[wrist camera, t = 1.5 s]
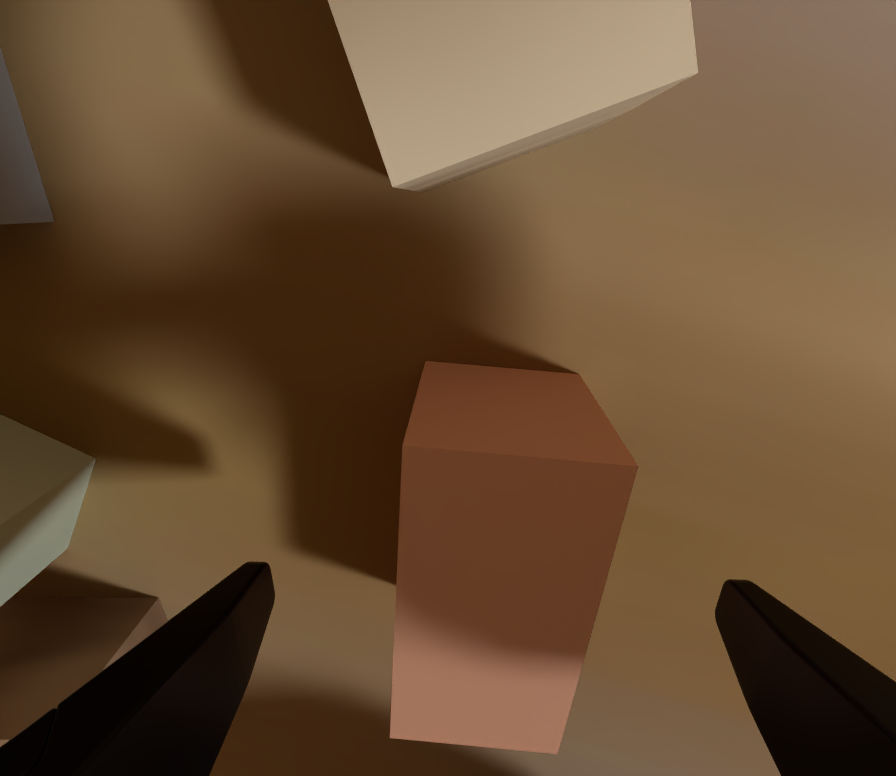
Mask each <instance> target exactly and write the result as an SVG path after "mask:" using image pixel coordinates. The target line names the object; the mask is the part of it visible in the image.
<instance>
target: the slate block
mask: <svg viewBox="0 0 896 776" xmlns="http://www.w3.org/2000/svg"><path fill="white" fill-rule="evenodd" d="M41 222H54V219H53V216H52V212H51V209H50V206H49V203H48V199H47V196H46V193H45V190H44V187H43V183H42V180H41V177H40V174H39V170H38V167H37V164H36V161H35V157H34V154H33V151H32V148H31V145H30V141H29V138H28V135H27V132H26V128H25V125H24V122H23V119H22V115H21V112H20V109H19V106H18V103H17V99H16V96H15V93H14V90H13V86H12V83H11V80H10V77H9V74H8V70H7V67H6V64H5V61H4V57H3V54H2V51H1V48H0V225H1V224H21V223H41Z"/></svg>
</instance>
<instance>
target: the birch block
mask: <svg viewBox="0 0 896 776" xmlns="http://www.w3.org/2000/svg"><path fill="white" fill-rule="evenodd" d="M328 3H329V6H330V8H331V11H332V14H333V17H334V20H335V23H336V26H337V29H338V32H339V34H340V37H341V40H342V43H343V46H344V49H345V52H346V55H347V57H348V60H349V63H350V66H351V69H352V72H353V75H354V78H355V81H356V83H357V86H358V89H359V92H360V95H361V98H362V101H363V104H364V106H365V109H366V112H367V115H368V118H369V121H370V124H371V127H372V130H373V132H374V135H375V138H376V141H377V144H378V147H379V150H380V153H381V156H382V158H383V161H384V164H385V167H386V170H387V173H388V176H389V179H390V181H391V184H392V187H394V188H400V189H406V190H411V191H417V192H425V191H427V190H430V189H433V188H435V187H438V186H441V185H444V184H446V183H449V182H452V181H454V180H457V179H460V178H463V177H465V176H468V175H471V174H473V173H476V172H479V171H482V170H484V169H487V168H490V167H492V166H495V165H498V164H501V163H503V162H506V161H509V160H511V159H514V158H517V157H520V156H522V155H525V154H528V153H530V152H533V151H536V150H539V149H541V148H544V147H547V146H549V145H552V144H555V143H558V142H560V141H563V140H566V139H569V138H571V137H574V136H577V135H579V134H582V133H585V132H588V131H590V130H593V129H596V128H598V127H601V126H602V125H604V124H606V123H608V122H610V121H611V120H613V119H615V118H617V117H619V116H621V115H622V114H624V113H626V112H628V111H630V110H631V109H633V108H635V107H637V106H639V105H641V104H642V103H644V102H646V101H648V100H650V99H651V98H653V97H655V96H657V95H659V94H661V93H662V92H664V91H666V90H668V89H670V88H671V87H673V86H675V85H677V84H679V83H681V82H682V81H684V80H686V79H688V78H690V77H691V76H693V75H695V74H697V73H698V68H697V58H696V49H695V39H694V30H693V20H692V11H691V2H690V0H328Z"/></svg>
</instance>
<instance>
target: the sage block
mask: <svg viewBox="0 0 896 776" xmlns="http://www.w3.org/2000/svg"><path fill="white" fill-rule="evenodd" d="M95 461H96V458H94V457H92V456H89V455H87V454H85V453H83V452H81V451H79V450H76V449H74V448H72V447H70V446H68V445H66V444H64V443H61V442H59V441H57V440H55V439H53V438H51V437H48V436H46V435H44V434H42V433H40V432H38V431H35V430H33V429H31V428H29V427H27V426H25V425H22V424H20V423H18V422H16V421H14V420H12V419H10V418H7V417H5V416H3V415H1V414H0V607H1V606H2V605H3V604H4V603H5V602H6V601H7V600H9V599H10V598H11V597H12V596H13V595H14V594H16V593H17V592H18V591H19V590H20V589H21V588H22V587H24V586H25V585H26V584H27V583H28V582H29V581H31V580H32V579H33V578H34V577H35V576H36V575H37V574H39V573H40V572H41V571H42V570H43V569H44V568H46V567H47V566H48V565H49V564H50V563H51V562H52V561H54V560H55V559H56V558H57V557H58V556H59V555H60V554H62V553H63V552H64V551H65V550H66V549H67V548H68V546H69V542H70V539H71V536H72V533H73V530H74V527H75V524H76V521H77V517H78V514H79V511H80V508H81V505H82V502H83V499H84V495H85V492H86V489H87V486H88V483H89V480H90V477H91V473H92V470H93V467H94V464H95Z"/></svg>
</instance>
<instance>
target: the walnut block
mask: <svg viewBox="0 0 896 776" xmlns="http://www.w3.org/2000/svg"><path fill="white" fill-rule="evenodd" d="M166 622H168V620H167V618H166V615H165V612H164V610H163V607H162V605H161V602H160V600H159V598H10V599H9V600H7V601H6V602H5V603H4V604H3V605H2V606H1V607H0V747H1V746H2V745H4V744H5V743H6V742H8V741H9V740H10V739H12V738H13V737H15V736H16V735H17V734H19V733H20V732H21V731H23V730H24V729H25V728H27V727H28V726H29V725H31V724H32V723H33V722H35V721H36V720H37V719H39V718H40V717H41V716H43V715H44V714H45V713H47V712H48V711H49V710H51V709H52V708H56V709H57V706H58V704H59V703H60V702H62V701H63V700H64V699H66V698H67V697H68V696H69V695H71V694H72V693H73V692H75V691H76V690H77V689H79V688H80V687H81V686H83V685H84V684H85V683H87V682H88V681H89V680H91V679H92V678H93V677H95V676H96V675H97V674H99V673H100V672H101V671H103V670H104V669H105V668H107V667H108V666H109V665H111V664H112V663H113V662H115V661H116V660H117V659H119V658H120V657H121V656H123V655H124V654H125V653H127V652H128V651H129V650H131V649H132V648H133V647H134V646H136V645H137V644H138V643H140V642H141V641H142V640H144V639H145V638H146V637H148V636H149V635H150V634H152V633H153V632H154V631H156V630H157V629H158V628H160V627H161V626H162V625H164V624H165V623H166Z"/></svg>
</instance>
